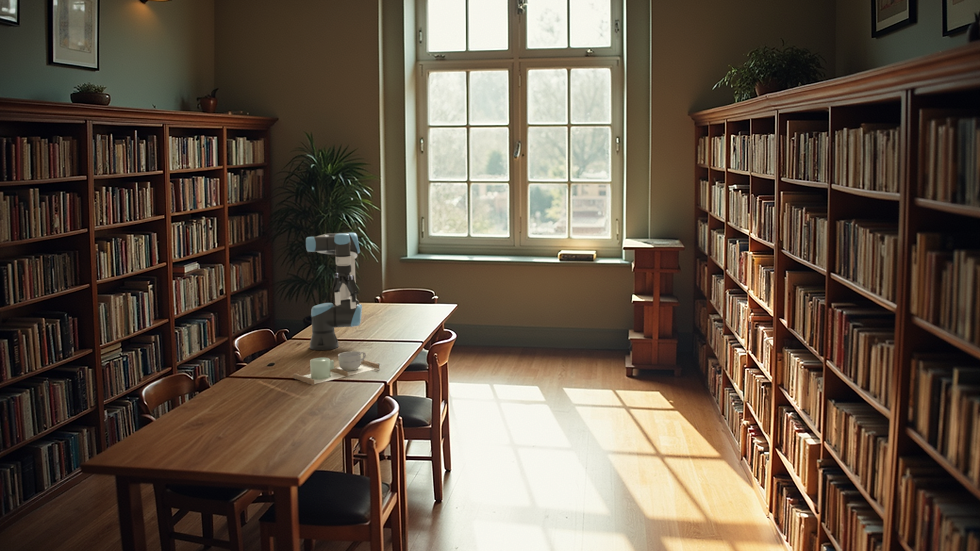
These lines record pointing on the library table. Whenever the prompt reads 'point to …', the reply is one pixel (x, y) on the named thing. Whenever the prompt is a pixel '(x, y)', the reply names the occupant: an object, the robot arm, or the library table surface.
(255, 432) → the library table surface
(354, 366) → the teacup
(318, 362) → the pale green cup
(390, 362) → the library table surface
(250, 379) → the library table surface
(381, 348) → the library table surface
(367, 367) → the beige tray
